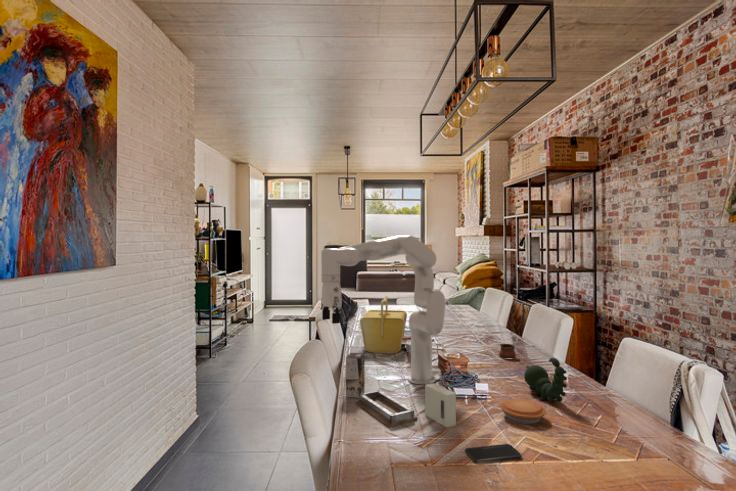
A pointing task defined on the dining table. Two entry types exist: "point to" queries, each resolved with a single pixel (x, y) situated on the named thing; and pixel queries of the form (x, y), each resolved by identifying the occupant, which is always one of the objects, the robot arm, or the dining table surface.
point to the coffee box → (355, 374)
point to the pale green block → (440, 405)
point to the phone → (493, 453)
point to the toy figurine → (546, 381)
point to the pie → (522, 411)
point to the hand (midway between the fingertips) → (331, 321)
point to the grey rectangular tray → (385, 408)
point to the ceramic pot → (507, 351)
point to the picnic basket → (383, 329)
